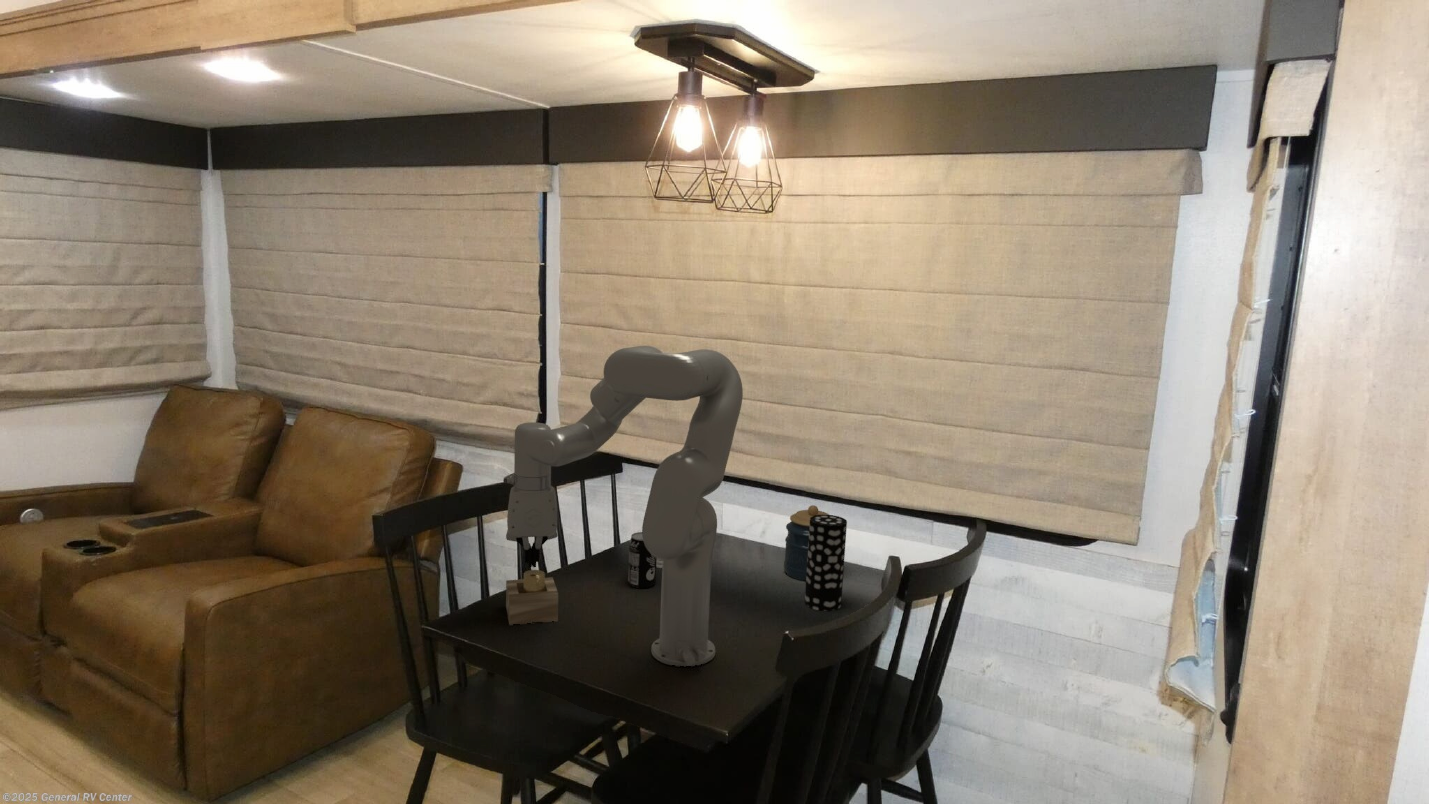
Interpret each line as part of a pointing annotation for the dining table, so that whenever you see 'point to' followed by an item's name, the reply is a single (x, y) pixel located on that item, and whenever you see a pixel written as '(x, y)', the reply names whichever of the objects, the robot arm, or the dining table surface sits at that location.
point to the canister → (799, 542)
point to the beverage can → (640, 563)
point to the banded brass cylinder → (533, 581)
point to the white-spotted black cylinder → (825, 562)
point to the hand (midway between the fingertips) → (531, 565)
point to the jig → (531, 603)
